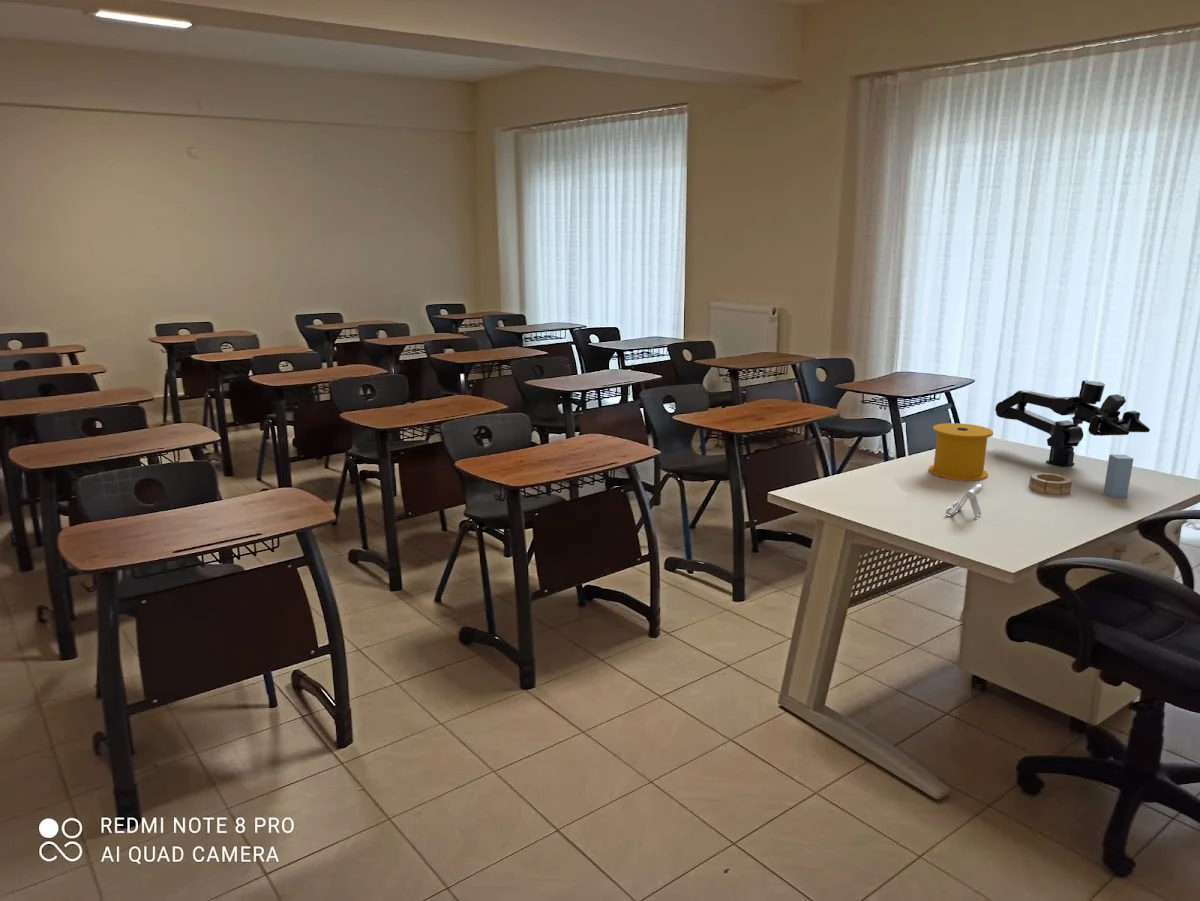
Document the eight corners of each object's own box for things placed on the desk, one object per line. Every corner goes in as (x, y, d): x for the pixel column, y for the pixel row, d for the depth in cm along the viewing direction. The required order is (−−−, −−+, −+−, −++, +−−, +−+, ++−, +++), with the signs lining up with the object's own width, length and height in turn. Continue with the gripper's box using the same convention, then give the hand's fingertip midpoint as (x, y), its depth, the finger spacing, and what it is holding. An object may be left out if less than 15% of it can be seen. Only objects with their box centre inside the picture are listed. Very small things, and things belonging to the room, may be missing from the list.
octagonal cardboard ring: (1022, 486, 262) (1023, 475, 261) (1045, 481, 267) (1046, 471, 266) (1054, 496, 253) (1055, 484, 252) (1077, 491, 257) (1078, 480, 256)
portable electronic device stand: (955, 508, 242) (958, 480, 240) (984, 514, 237) (987, 485, 235) (945, 516, 236) (948, 487, 234) (974, 522, 231) (978, 493, 229)
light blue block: (1103, 492, 256) (1109, 454, 253) (1118, 492, 256) (1124, 454, 253) (1111, 497, 252) (1117, 458, 248) (1126, 497, 251) (1133, 458, 248)
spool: (997, 481, 267) (1003, 435, 264) (940, 481, 268) (945, 435, 264) (974, 465, 285) (979, 422, 281) (920, 465, 285) (924, 422, 281)
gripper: (1080, 394, 267) (1124, 409, 253) (1121, 389, 274) (1167, 404, 260) (1071, 427, 271) (1114, 444, 257) (1112, 422, 278) (1156, 438, 264)
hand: (1138, 431), depth 260 cm, fingers open, 9 cm apart
